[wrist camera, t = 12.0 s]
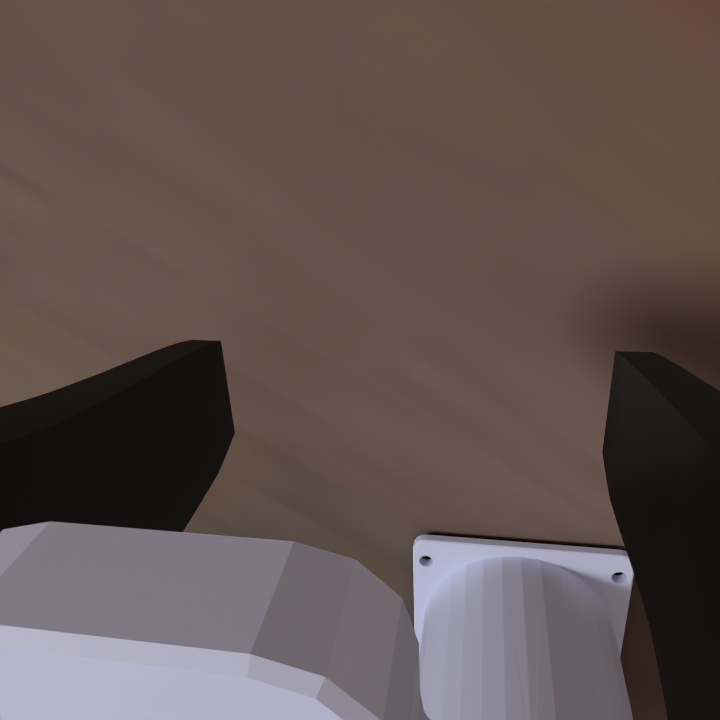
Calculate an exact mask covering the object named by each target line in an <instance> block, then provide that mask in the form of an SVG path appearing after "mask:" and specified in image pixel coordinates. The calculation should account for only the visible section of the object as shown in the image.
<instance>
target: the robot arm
mask: <svg viewBox="0 0 720 720" xmlns="http://www.w3.org/2000/svg"><path fill="white" fill-rule="evenodd" d="M234 433H235V431H234V425H233V418H232V412H231V405H230V399H229V392H228V386H227V379H226V372H225V366H224V359H223V353H222V346H221V341H207V340H189V341H184V342H180V343H177V344H174V345H171V346H168V347H165V348H162V349H160V350H157V351H154V352H152V353H149V354H147V355H144V356H142V357H139V358H137V359H135V360H132V361H130V362H127V363H125V364H122V365H120V366H117V367H115V368H113V369H110V370H108V371H105V372H103V373H100V374H97V375H95V376H92V377H90V378H87V379H84V380H82V381H79V382H76V383H74V384H71V385H68V386H66V387H63V388H60V389H58V390H55V391H52V392H49V393H46V394H43V395H40V396H37V397H34V398H31V399H27V400H24V401H21V402H17V403H14V404H10V405H7V406H3V407H0V720H633V716H632V712H631V707H630V702H629V697H628V693H627V688H626V683H625V679H624V674H623V669H622V665H621V660H620V655H621V649H622V643H623V637H624V631H625V625H626V619H627V613H628V608H629V602H630V596H631V590H632V584H633V578H634V576H635V579H636V582H637V585H638V588H639V591H640V594H641V597H642V600H643V603H644V607H645V611H646V614H647V618H648V622H649V625H650V629H651V634H652V639H653V644H654V649H655V654H656V659H657V664H658V669H659V674H660V679H661V684H662V689H663V695H664V700H665V706H666V712H667V717H668V720H720V391H719V390H717V389H715V388H714V387H712V386H710V385H709V384H707V383H706V382H704V381H702V380H701V379H699V378H697V377H696V376H694V375H693V374H691V373H689V372H688V371H686V370H685V369H683V368H681V367H680V366H678V365H676V364H675V363H673V362H671V361H670V360H668V359H666V358H664V357H662V356H660V355H658V354H656V353H653V352H619V351H615V358H614V366H613V374H612V382H611V389H610V397H609V405H608V413H607V421H606V428H605V436H604V444H603V459H604V466H605V472H606V479H607V485H608V491H609V496H610V501H611V504H612V507H613V510H614V514H615V517H616V520H617V523H618V526H619V529H620V533H621V536H622V539H623V542H624V545H625V548H626V551H624V550H618V549H605V548H592V547H580V546H567V545H554V544H541V543H528V542H515V541H503V540H490V539H477V538H464V537H451V536H438V535H421V536H418V537H417V538H416V539H415V541H414V546H413V575H414V627H415V631H414V629H413V626H412V623H411V621H410V618H409V615H408V613H407V610H406V607H405V604H404V602H403V599H402V598H401V597H400V596H399V595H398V594H397V593H395V592H394V591H393V590H392V589H391V588H389V587H388V586H387V585H386V584H385V583H383V582H382V581H381V580H380V579H378V578H377V577H376V576H375V575H374V574H372V573H371V572H370V571H369V570H368V569H366V568H365V567H364V566H363V565H362V564H360V563H359V562H358V561H357V560H355V559H352V558H348V557H345V556H342V555H338V554H335V553H331V552H328V551H325V550H321V549H318V548H314V547H311V546H308V545H304V544H301V543H297V542H293V541H281V540H269V539H257V538H245V537H233V536H221V535H209V534H197V533H185V532H183V530H184V529H185V527H186V526H187V524H188V522H189V521H190V519H191V518H192V516H193V514H194V513H195V511H196V509H197V508H198V506H199V505H200V503H201V501H202V500H203V498H204V496H205V495H206V493H207V491H208V490H209V488H210V486H211V485H212V483H213V481H214V480H215V478H216V476H217V474H218V472H219V470H220V468H221V466H222V463H223V461H224V459H225V456H226V454H227V451H228V449H229V446H230V443H231V441H232V438H233V436H234ZM422 556H428V557H430V558H431V559H424V558H422ZM616 572H621V573H623V574H621V575H617V576H616V575H613V574H614V573H616Z"/></svg>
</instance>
